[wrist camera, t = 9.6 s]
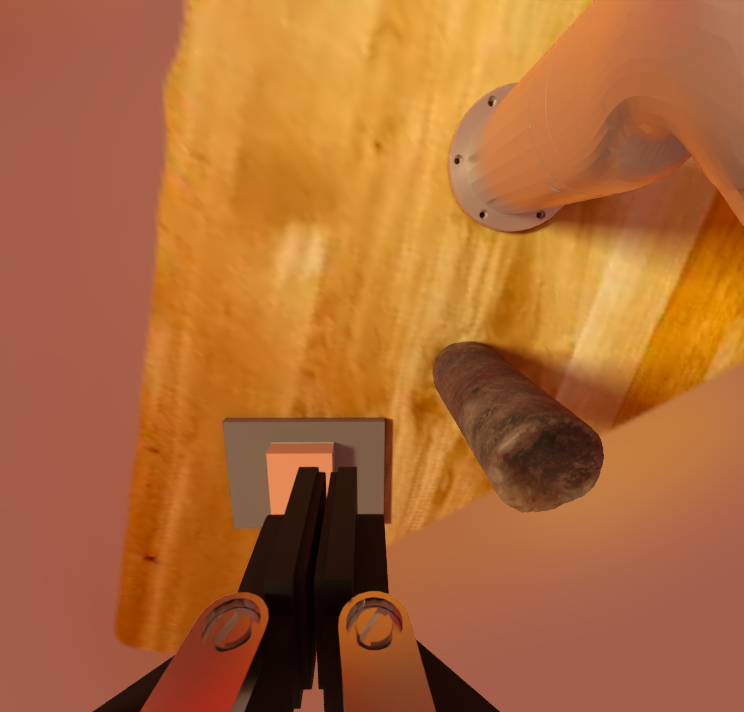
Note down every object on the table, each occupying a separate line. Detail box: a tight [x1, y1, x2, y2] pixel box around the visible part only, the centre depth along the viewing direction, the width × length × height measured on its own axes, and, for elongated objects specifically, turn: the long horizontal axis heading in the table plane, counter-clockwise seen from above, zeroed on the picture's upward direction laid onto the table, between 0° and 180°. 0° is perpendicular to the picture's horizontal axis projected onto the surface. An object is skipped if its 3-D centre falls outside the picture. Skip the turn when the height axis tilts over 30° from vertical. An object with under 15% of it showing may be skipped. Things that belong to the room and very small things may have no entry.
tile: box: [266, 442, 335, 515], centre depth 44 cm, size 2×9×7 cm
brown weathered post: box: [433, 342, 604, 512], centre depth 33 cm, size 8×7×20 cm
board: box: [222, 418, 385, 528], centre depth 46 cm, size 18×14×1 cm
